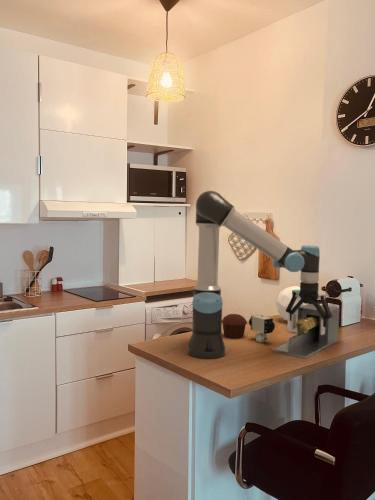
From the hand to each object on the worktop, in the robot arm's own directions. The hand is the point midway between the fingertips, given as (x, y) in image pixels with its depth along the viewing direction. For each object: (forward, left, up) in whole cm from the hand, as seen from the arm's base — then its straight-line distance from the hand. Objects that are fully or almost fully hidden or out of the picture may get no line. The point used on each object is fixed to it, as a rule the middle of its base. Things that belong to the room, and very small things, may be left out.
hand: (307, 331), depth 188 cm
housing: (0, 0, -6) cm, 6 cm away
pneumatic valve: (-18, -7, -6) cm, 20 cm away
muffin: (-32, -8, -6) cm, 34 cm away
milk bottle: (-15, +20, -6) cm, 26 cm away
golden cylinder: (0, +2, 0) cm, 3 cm away
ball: (-24, +37, -6) cm, 45 cm away
